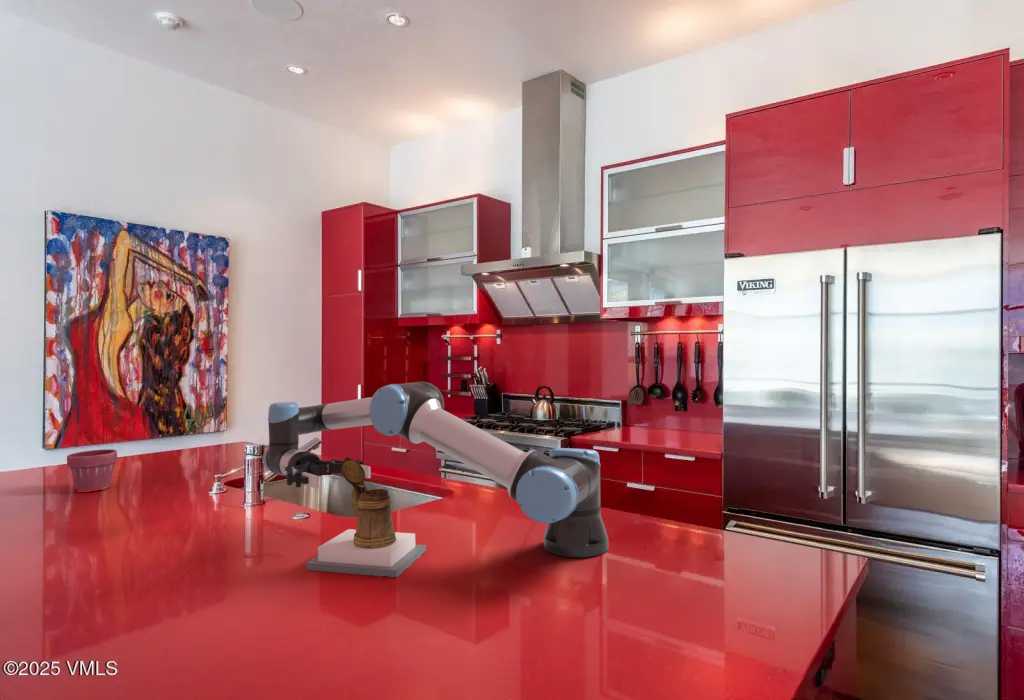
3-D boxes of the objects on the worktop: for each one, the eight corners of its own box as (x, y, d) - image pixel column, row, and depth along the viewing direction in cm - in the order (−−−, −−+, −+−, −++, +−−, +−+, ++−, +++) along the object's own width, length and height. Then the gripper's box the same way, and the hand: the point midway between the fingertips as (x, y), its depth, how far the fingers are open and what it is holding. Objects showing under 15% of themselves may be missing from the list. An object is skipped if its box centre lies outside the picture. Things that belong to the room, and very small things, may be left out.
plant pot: (56, 494, 200) (55, 456, 200) (92, 484, 214) (91, 448, 213) (93, 495, 197) (93, 456, 197) (127, 485, 211) (127, 449, 211)
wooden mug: (361, 530, 141) (360, 453, 141) (404, 539, 133) (403, 459, 133) (331, 540, 133) (330, 460, 133) (375, 551, 126) (373, 466, 126)
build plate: (426, 551, 139) (425, 532, 139) (396, 577, 123) (396, 555, 123) (344, 545, 144) (344, 526, 144) (306, 569, 128) (305, 548, 128)
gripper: (344, 472, 164) (389, 483, 149) (252, 488, 146) (293, 503, 131) (344, 444, 164) (388, 453, 149) (252, 458, 146) (293, 469, 131)
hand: (344, 477), depth 140 cm, fingers open, 13 cm apart
